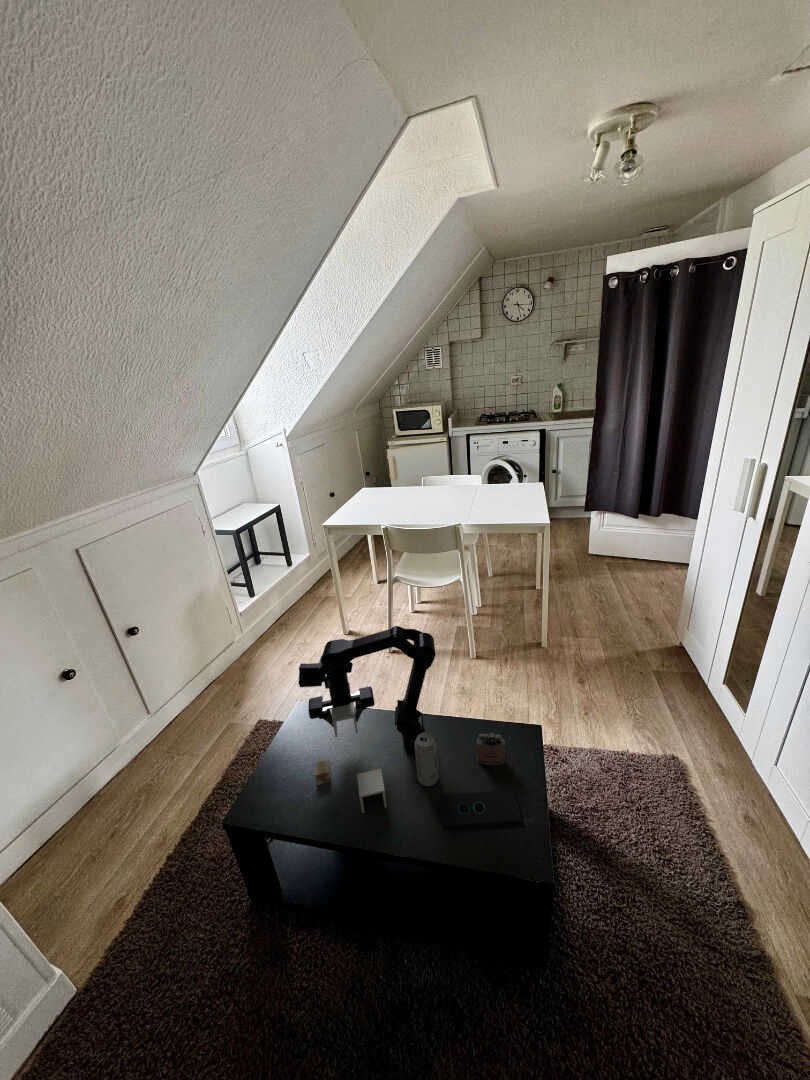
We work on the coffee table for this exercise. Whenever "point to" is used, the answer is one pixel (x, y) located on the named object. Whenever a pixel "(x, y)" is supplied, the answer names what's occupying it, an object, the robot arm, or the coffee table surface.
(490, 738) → the lighter
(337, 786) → the coffee table surface
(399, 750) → the coffee table surface
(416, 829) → the coffee table surface
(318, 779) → the brown wooden cube
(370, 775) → the grey stool
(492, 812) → the smart home device
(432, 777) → the energy drink can
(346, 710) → the grey piece
